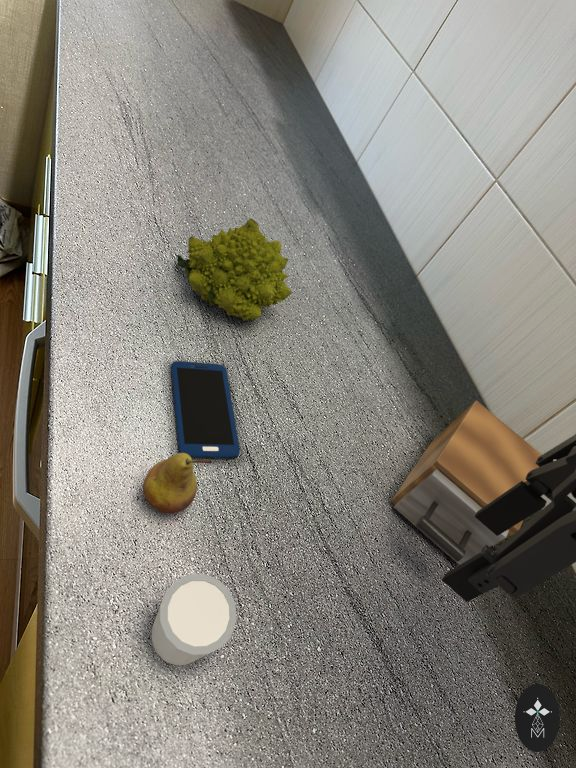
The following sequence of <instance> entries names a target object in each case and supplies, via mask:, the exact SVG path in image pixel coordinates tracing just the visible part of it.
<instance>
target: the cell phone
mask: <svg viewBox="0 0 576 768" xmlns="http://www.w3.org/2000/svg"><path fill="white" fill-rule="evenodd" d="M170 375H171V376H170V377H171V387H172V388H171V389H172V397H173V406H174V407H173V409H174V418H175V426H176V427H175V428H176V437H177V446H178V453H186V454H188V455H190V457H191V458H192V459H236V458H238V457H239V456H240V454H241V453H240V442H239V437H238V430H237V425H236V419H235V413H234V406H233V402H232V394H231V389H230V382H229V377H228V372H227V368H226V366H224V365H222V364H219V363H207V362H194V361H183V360H182V361H181V360H176V361H175V360H174V361H173V362H171V365H170Z"/></svg>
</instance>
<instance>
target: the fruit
mask: <svg viewBox="0 0 576 768" xmlns="http://www.w3.org/2000/svg"><path fill="white" fill-rule="evenodd" d="M198 463H199V464H213V461H212V459H211V458H208V459H193V458H191V457H190V455H188V454H186V453H179V452H178V453H175V454H172V455H171V456H170V457H168V458H165V459H162V460H160V461H159V462H156V463H155V464H154V465H153V466H152V467H151V468H150V469H149V471H148V472H147V474H146V475H145V478H144V481H143V483H142V494H143V496H144V500H145V501H146V503H147V504H148V505H149V506H150V508H152V509H153V510H154V511H157V512H158V513H161V514H165V515H173V514H178V513H180V512H182V511H185V510H186V509H187V508H189V506H191V504H192V503H193V502H194V500H195V498H196V495H197V491H198V481H197V477H196V475H195V472H194V464H198Z"/></svg>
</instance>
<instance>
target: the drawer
mask: <svg viewBox="0 0 576 768" xmlns="http://www.w3.org/2000/svg"><path fill="white" fill-rule="evenodd" d="M393 508H394V509H395V510H396V511H397V512H398V513H400V514H401V515H402V516H403V517H404V518H405V519H406V520H408V521H409V522H410V523H411V524H412V525H413V526H414V527H416V528H417V530H419V531H420V532H421V533H423V535H424V536H426V537H427V538H428V539H429V540H430V541H432V542H433V543H434V545H436V546H437V547H438V548H440V550H442V551H443V552H444V553H445V554H446V555H448V556H449V557H450V558H451V559H452V560H453V561H454V563H456V564H457V565H458V566H459V565H460V564H462V563H464V562H465V561H467V560H469V559H470V558H472V557H474V556H475V555H477V554H479V553H480V552H481V551H482V549H483V548H484V546H485V545H488V546H489V547H490V546H493V545H495V544H496V543H498V542H499V541H501V540H503V539H504V538H506V536H507V534H508V532H509V530H506V531H505V532H503V533H502V534H500V535H498V536H496V535H495V534H494V533H493V532H492V531H491V530H489V529H488V528H487V527H486V526H485V525H484V524H482V523H481V522H480V521H479V520H478V519H477V518H475V515H476V513H477V511H479V510H480V509H482V508H483V507H482V506H481V505H480V504H479V503H477V502H476V501H475V500H474V499H473V498H472V497H470V496H469V495H468V494H467V493H466V492H465V491H463V490H462V489H461V488H460V487H459V486H458V485H456V484H455V483H454V482H453V481H452V480H451V479H449V478H448V477H447V476H446V475H445V474H444V473H442V472H441V471H440V470H438V469H435V470H434V471H433V472H432V473H430V474H429V475H428V476H427V477H426V478H424V479H423V480H422V481H421V482H420V483H419V484H417V485H416V486H415V487H414V488H413V489H412V490H410V491H409V492H408V493H407V494H406V495H405V496H403V497H402V498H401V499H400V500H399V501H398V502H397V503H396V505H394V506H393ZM506 539H507V538H506ZM503 541H504V540H503ZM501 542H502V541H501ZM498 544H499V543H498ZM496 545H497V544H496ZM496 545H495V546H496ZM493 547H494V546H493Z"/></svg>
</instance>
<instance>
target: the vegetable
mask: <svg viewBox="0 0 576 768" xmlns="http://www.w3.org/2000/svg"><path fill="white" fill-rule="evenodd" d="M187 245H188V246H187V247H188V248H187V249H188V250H187V253H188V256H187V259H185V258H183V257H182V256H181V254H176V257H177V259H176V260H177V261H176V262H177V264H176V265H177V266H178V267H180V268H181V269H184V271H185V275H186V277H188V279H187V280H188V283H189V285H190V286H191V290H192V291H195V292H197V293H198V294H199V295H200V298H201V301H205V302H207V303H208V304H209V306H210V307H212V306H214V305H218V308H219V309H221V308H222V309H223V311H226V315H227V316H234V317H236V318H241V319H242V321H243V322H245V321H248V322H250V321H253V320H254V321H255V320H256V319H258V318H259V317H261V316H262V314H261V313H262V311H263V307H264V308H270V307H271V306H272V305H273V306H276V305H277V304H278V302H279V303H282V301H286V299H287V298H288V297H289V296H290V295H291V294H292V293H293V291H292V290H291V289H290V288H289V286H287V284H286V281H284V280H286V279H287V278H288V277H289V275H288V274H286V273H285V272H284V271H283V270H284V269H286V266H287V264H288V262H289V258H286V257H284V256H282V255H281V254H282V253H281V250H282V243H281V242H280V241H279V240H272V241H269V240H268V237H266V235H264V234H263V232H261V231H260V228H259V223H258V222H256V220H254V219H253V218H252V217H250V218H249V219H248V220H247V221H246V222H245V223H244V224H243V225H241V226H240V227H234V229H233V228H229V229H228V231H227V232H225V231H224V230H223V228H221V229H220V231H219V233H218V234H217V235H216V234H212V236H211V239H209V240H208V241H206V240H201V239H199V238H196V237H195V236H193V235H191V236H189V237H188V243H187Z"/></svg>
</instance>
